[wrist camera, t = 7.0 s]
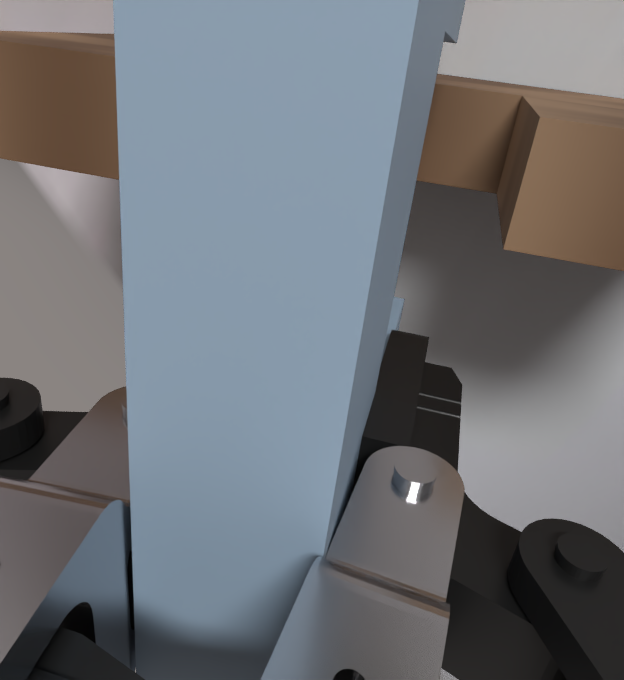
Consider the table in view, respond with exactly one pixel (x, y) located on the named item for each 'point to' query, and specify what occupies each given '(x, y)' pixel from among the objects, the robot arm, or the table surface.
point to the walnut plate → (436, 159)
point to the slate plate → (256, 294)
